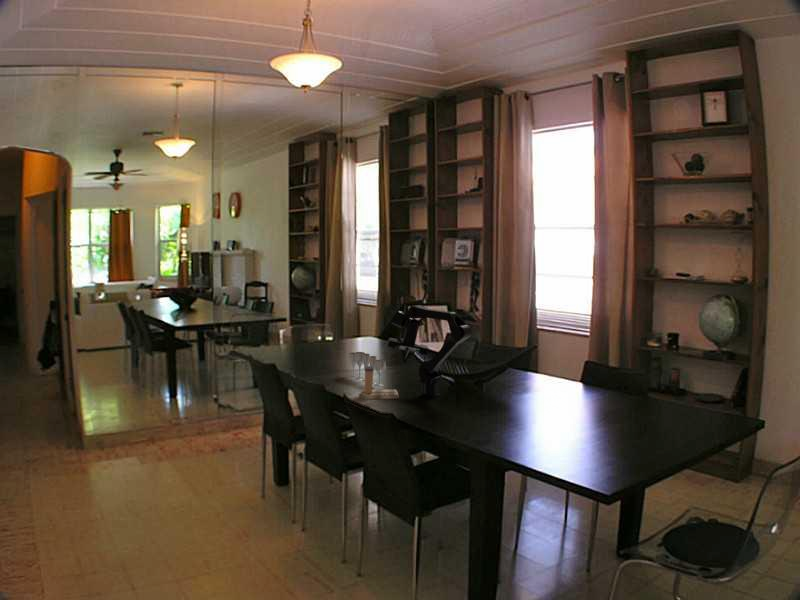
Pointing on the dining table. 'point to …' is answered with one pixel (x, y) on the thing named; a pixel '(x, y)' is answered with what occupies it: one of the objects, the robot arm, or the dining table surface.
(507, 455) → the dining table surface
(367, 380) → the fader tab
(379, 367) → the goblet set
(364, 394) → the fader console
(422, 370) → the robot arm
